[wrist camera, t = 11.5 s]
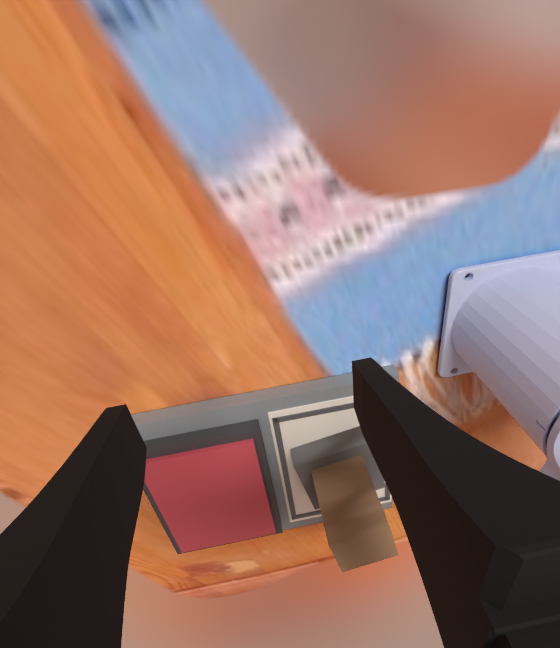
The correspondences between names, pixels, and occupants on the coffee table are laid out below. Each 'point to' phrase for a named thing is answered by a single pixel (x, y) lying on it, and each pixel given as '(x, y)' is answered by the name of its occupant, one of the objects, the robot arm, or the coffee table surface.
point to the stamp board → (241, 460)
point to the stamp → (346, 496)
